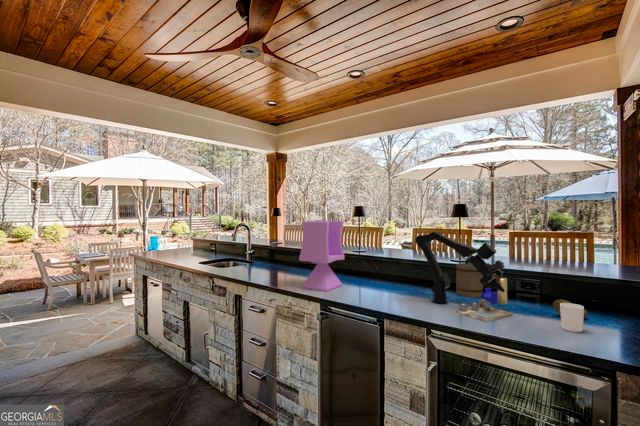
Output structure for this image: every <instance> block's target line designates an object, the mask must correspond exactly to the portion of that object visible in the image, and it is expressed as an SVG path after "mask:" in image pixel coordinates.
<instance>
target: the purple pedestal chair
mask: <svg viewBox="0 0 640 426" xmlns="http://www.w3.org/2000/svg"><path fill="white" fill-rule="evenodd" d="M344 223H345V221H344V220H307V221H305V220H303V221H301V225H302V231H303V232H302V233H303V241H302V246H301V250H300V254H299V257H298V258H299V259H298V260H299V262H300V261H301V262H308V263H313V264H316V265H315V267H314V268H313V270H312V271H311V272H310V274H309V276H307V278H306V280H305V281H304V282H303V284H302V286H301V287H302V288H301V289H307V290H313V291H320V292H326V293H328V292H331V291H332V290H335V289H338V288H340V287H341V288H342V286H343V283H342V282H341V280H340V279H339V278H338V276H337V275H336V274H335V272H334V270H332V268H331V267H330V266H329V264H330V263H332V262H335V261H343V260H345V259H346V258H345V256H346V255H345V252H344V249H343V245H342V232H343V226H344Z"/></svg>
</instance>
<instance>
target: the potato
mask: <svg viewBox="0 0 640 426" xmlns="http://www.w3.org/2000/svg"><path fill="white" fill-rule="evenodd" d="M560 303H571V304H573V303H572V302H570V301H568V300H564V299H560V298H559V299H556V300H554V301H553V302H552V306H553V309H554V311H555V312H557V313H558V314H560ZM560 315H561V314H560ZM587 317H588V311H587V310H586V309H585V308H584V317H583V319H586V318H587Z"/></svg>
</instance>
